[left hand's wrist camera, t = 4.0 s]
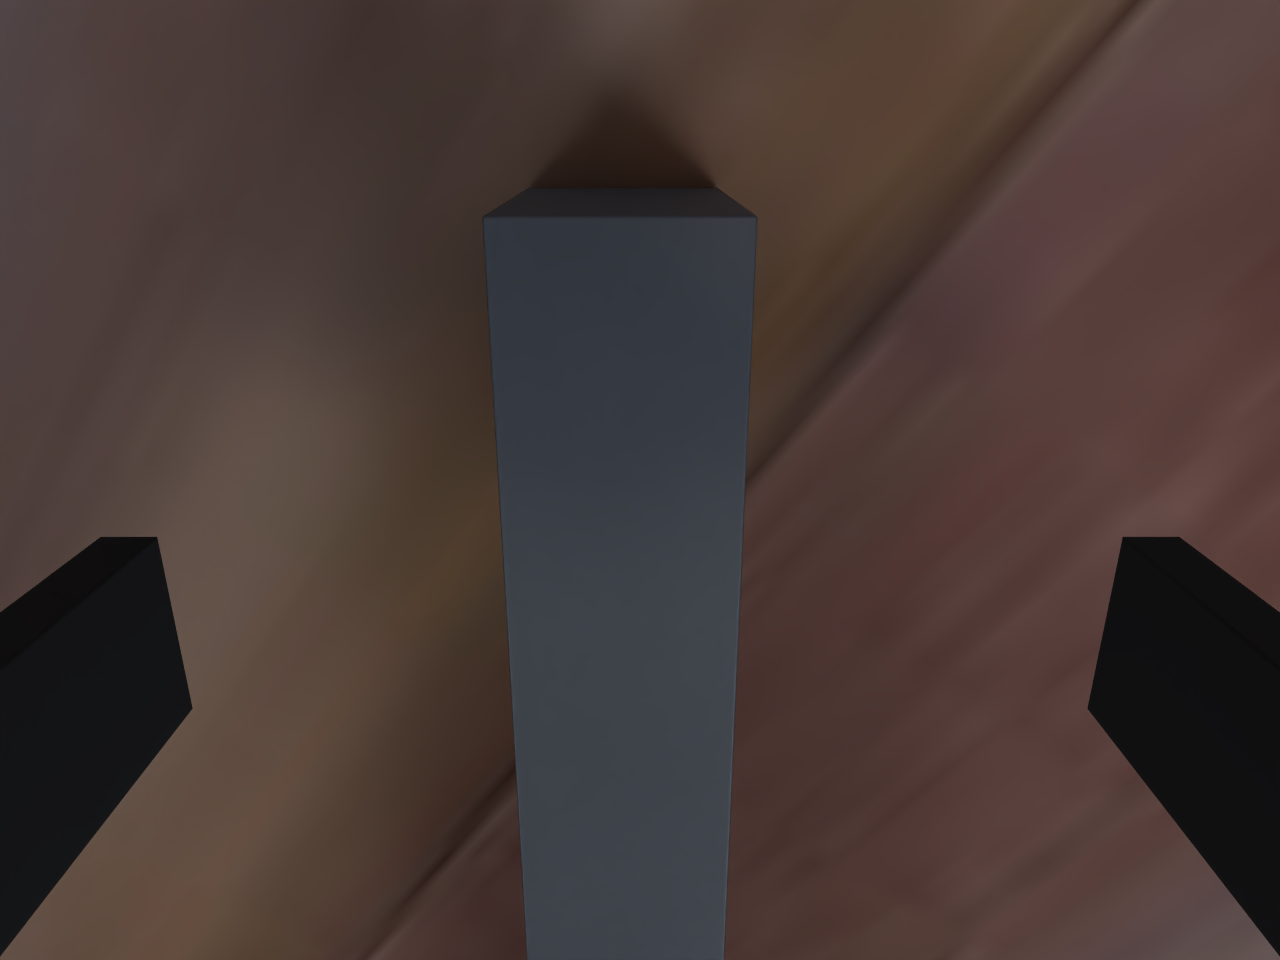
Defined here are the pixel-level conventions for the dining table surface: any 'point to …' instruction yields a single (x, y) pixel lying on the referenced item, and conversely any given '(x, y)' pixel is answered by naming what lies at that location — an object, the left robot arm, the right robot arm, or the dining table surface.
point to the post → (622, 554)
